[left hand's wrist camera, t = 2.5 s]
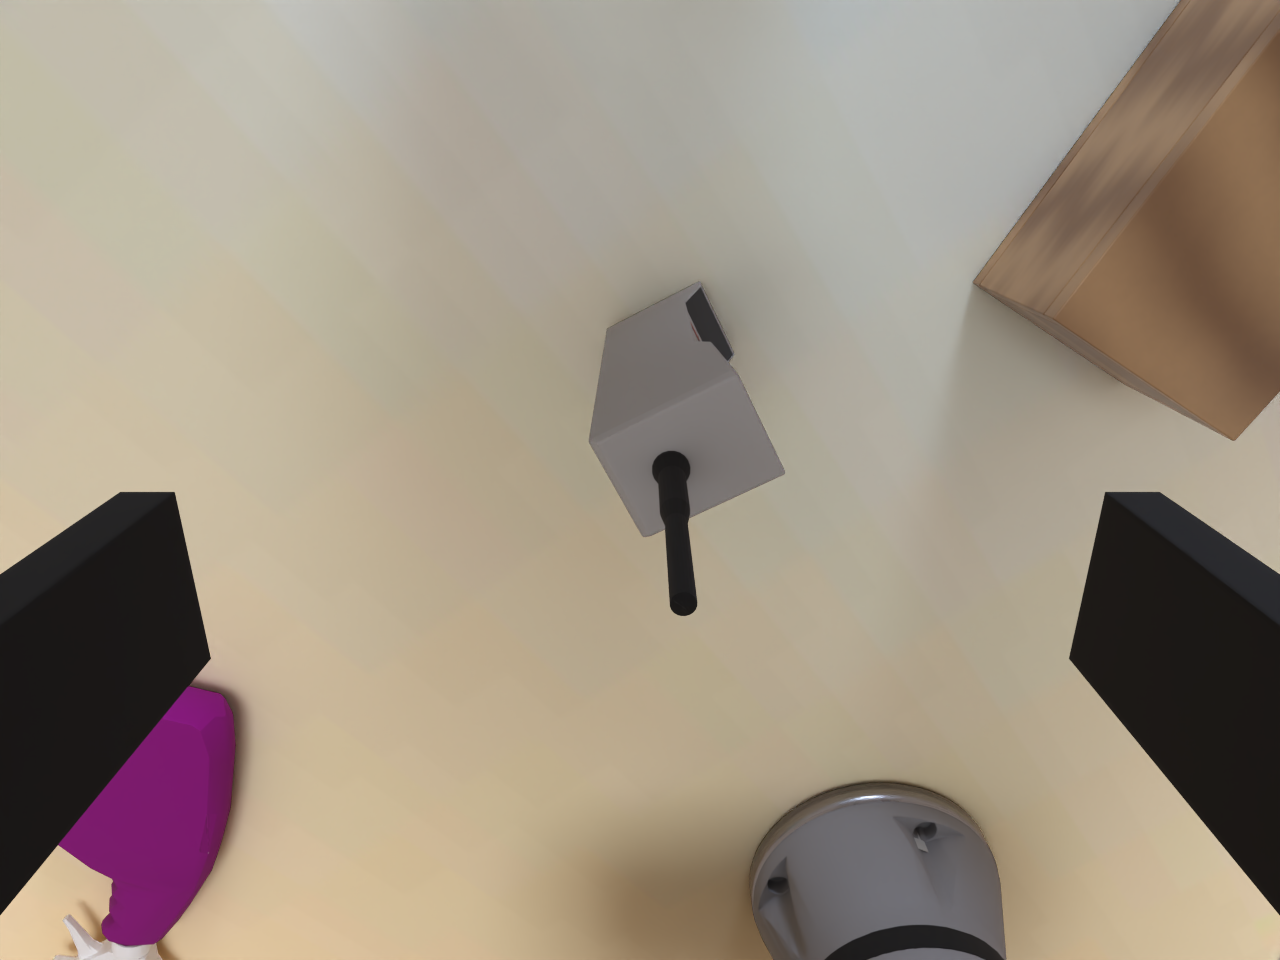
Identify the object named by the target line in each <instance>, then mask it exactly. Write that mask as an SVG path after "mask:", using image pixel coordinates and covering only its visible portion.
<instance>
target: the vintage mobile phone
mask: <svg viewBox="0 0 1280 960" xmlns="http://www.w3.org/2000/svg"><path fill="white" fill-rule="evenodd" d="M733 356H734V352H733V349H732V347H731V345H730V343H729V341H728V339H727V337H726V335H725V333H724V331H723V328H722V326H721V324H720V322H719V320H718V318H717V316H716V314H715V312H714V310H713V308H712V306H711V303H710V301H709V299H708V297H707V295H706V293H705V291H704V289H703V287H702V285H701V283H700V282H697V283H695V284H693V285H691V286H689V287H687V288H685V289H683V290H681V291H679V292H677V293H676V294H674V295H672V296H670V297H668V298H666V299H664V300H662V301H660V302H658V303H656V304H654V305H652V306H650V307H648V308H646V309H644V310H642V311H640V312H638V313H636V314H635V315H633V316H631V317H629V318H627V319H625V320H623V321H621V322H619V323H617V324H615V325H613V326H611V327H609V328H608V329H607V332H606V338H605V345H604V351H603V357H602V363H601V369H600V375H599V381H598V387H597V393H596V399H595V405H594V412H593V418H592V424H591V430H590V436H589V443H590V445H591V447H592V448H593V450H594V452H595V454H596V455H597V457H598V459H599V461H600V463H601V464H602V466H603V468H604V470H605V471H606V473H607V475H608V477H609V478H610V480H611V482H612V484H613V485H614V487H615V489H616V491H617V492H618V494H619V496H620V498H621V500H622V501H623V503H624V505H625V507H626V508H627V510H628V512H629V514H630V515H631V517H632V519H633V521H634V522H635V524H636V526H637V528H638V529H639V531H640V533H641V535H642V536H643V537H647V536H652V535H654V534H656V533H658V532H660V531H662V530H665V535H666V551H667V566H668V582H669V598H670V607H671V610H672V611H673V612H674V613H675V614H677V615H680V616H687V615H690V614H691V613H693V612H694V611H695V610H696V607H697V596H696V588H695V580H694V572H693V563H692V555H691V547H690V539H689V531H688V520H689V518H691V517H693V516H695V515H697V514H699V513H701V512H704V511H706V510H708V509H710V508H712V507H714V506H717V505H719V504H721V503H723V502H725V501H727V500H730V499H732V498H734V497H736V496H738V495H740V494H743V493H745V492H747V491H749V490H751V489H753V488H756V487H758V486H760V485H762V484H764V483H766V482H769V481H771V480H773V479H775V478H777V477H779V476H782V475H784V474H785V470H784V468H783V466H782V464H781V462H780V460H779V458H778V456H777V454H776V452H775V449H774V447H773V445H772V443H771V441H770V439H769V437H768V435H767V433H766V431H765V429H764V427H763V425H762V423H761V420H760V418H759V416H758V414H757V412H756V410H755V408H754V406H753V404H752V402H751V400H750V398H749V396H748V394H747V391H746V389H745V387H744V385H743V383H742V381H741V379H740V377H739V375H738V374H737V372H736V371H735V370H734V369H733V367H732V366H731V365H730V364H729V361H730V360H731V359H732V357H733Z"/></svg>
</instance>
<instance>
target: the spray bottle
mask: <svg viewBox="0 0 1280 960" xmlns="http://www.w3.org/2000/svg"><path fill="white" fill-rule="evenodd" d="M235 746H236V744H235V732H234V719H233V712H232V711H231V709H230V707H229V705H228V703H227V701H226V699H225V698H224V697H223V696H222V695H221V694H220V693H216V692H211V691H207V690H203V689H199V688H194V687H190V686H188V687H187V688H186V689H185V691H184V692H183V693H182V694H181V696H180V697H179V698H178V699H177V700H176V702H175V703H174V704H173V705H172V707H171V708H170V709H169V710H168V711H167V713H166V714H165V715H164V716H163V718H162V719H161V720H160V721H159V722H158V724H157V725H156V726H155V727H154V728H153V730H152V731H151V732H150V733H149V735H148V736H147V737H146V738H145V739H144V741H143V742H142V743H141V744H140V746H139V747H138V748H137V749H136V750H135V752H134V753H133V754H132V755H131V756H130V758H129V759H128V760H127V761H126V763H125V764H124V765H123V766H122V767H121V769H120V770H119V771H118V772H117V774H116V775H115V776H114V777H113V778H112V780H111V781H110V782H109V783H108V785H107V786H106V787H105V788H104V789H103V791H102V792H101V793H100V794H99V795H98V797H97V798H96V799H95V800H94V802H93V803H92V804H91V805H90V806H89V808H88V809H87V810H86V811H85V813H84V814H83V815H82V816H81V817H80V819H79V820H78V821H77V822H76V824H75V825H74V826H73V827H72V828H71V830H70V831H69V832H68V833H67V834H66V836H65V837H64V838H63V839H62V841H61V842H60V843H59V844H58V845H59V846H60V847H62V848H63V849H64V850H66V851H67V852H69V853H70V854H71V855H73V856H74V857H76V858H77V859H78V860H80V861H81V862H83V863H84V864H85V865H87V866H88V867H90V868H91V869H93V870H95V871H97V872H99V873H101V874H103V875H105V876H108V877H110V878H112V880H113V883H112V896H111V897H110V902H109V912H110V913H109V914H108V915H107V916H106V917H105V919H104V920H103V921H102V924H101V926H102V933H103V934H104V936H105V937H106V938H107V939H106V940H104V941H102V942H98V941H96V940H94V939H93V938H92V937H91V936H90V935H89V934H88V933H87V932H86V931H85V930H84V928H83V927H82V926H81V925H80V924H79V923H78V922H77V921H76V920H75V919H74V918H73V917H72V916H71V915H70V914H69V915H66V916H65V918H64V919H63V922H64V923H65V925H66V926H67V928H68V929H69V931H70V934H71V936H72V938H73V941H74V943H75V946H76V948H77V950H78V956H68V955H56V956H55V957H54V958H53V960H163V959H162V958H161V957H160V955H159V954H158V950H157V945H156V942H158V941H159V940H161V939H162V938H163V937H164V936H165V935H166V934H167V932H168V931H169V930H170V929H171V928H172V927H173V926H174V924H175V923H176V922H177V921H178V920H179V918H180V917H181V916H182V914H183V913H184V912H185V910H186V909H187V908H188V906H189V905H190V904H191V902H192V900H193V899H194V897H195V896H196V894H197V893H198V891H199V889H200V888H201V886H202V885H203V883H204V882H205V880H206V878H207V877H208V875H209V874H210V872H211V871H212V868H213V865H214V862H215V859H216V857H217V854H218V851H219V848H220V845H221V841H222V838H223V834H224V831H225V827H226V823H227V819H228V815H229V812H230V807H231V795H232V783H233V771H234V759H235Z"/></svg>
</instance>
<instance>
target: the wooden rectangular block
mask: <svg viewBox="0 0 1280 960" xmlns="http://www.w3.org/2000/svg"><path fill="white" fill-rule="evenodd" d="M973 283H974V284H975V285H977V286H978V287H980V288H981V289H983V290H984V291H986V292H987V293H989V294H990V295H992V296H993V297H995V298H996V299H998V300H999V301H1001V302H1002V303H1004V304H1005V305H1007V306H1008V307H1010V308H1011V309H1013V310H1014V311H1016V312H1017V313H1019V314H1020V315H1022V316H1023V317H1025V318H1026V319H1028V320H1029V321H1031V322H1032V323H1034V324H1035V325H1037V326H1038V327H1040V328H1041V329H1042V330H1044V331H1045V332H1047V333H1048V334H1050V335H1051V336H1053V337H1054V338H1056V339H1057V340H1059V341H1060V342H1062V343H1063V344H1065V345H1066V346H1068V347H1069V348H1071V349H1072V350H1074V351H1075V352H1077V353H1078V354H1080V355H1081V356H1083V357H1084V358H1086V359H1087V360H1089V361H1090V362H1092V363H1093V364H1095V365H1096V366H1098V367H1099V368H1101V369H1102V370H1104V371H1105V372H1107V373H1108V374H1110V375H1111V376H1113V377H1114V378H1116V379H1117V380H1119V381H1120V382H1122V383H1123V384H1125V385H1127V386H1129V387H1131V388H1133V389H1135V390H1137V391H1139V392H1140V393H1142V394H1144V395H1146V396H1148V397H1150V398H1152V399H1154V400H1156V401H1158V402H1160V403H1162V404H1164V405H1165V406H1167V407H1169V408H1171V409H1173V410H1175V411H1177V412H1179V413H1181V414H1183V415H1185V416H1187V417H1188V418H1190V419H1192V420H1194V421H1196V422H1198V423H1200V424H1202V425H1204V426H1206V427H1208V428H1210V429H1211V430H1213V431H1215V432H1217V433H1219V434H1221V435H1223V436H1225V437H1227V438H1229V439H1231V440H1232V441H1235V440H1236V439H1237V438H1238V437H1239V435H1240V434H1241V433H1242V432H1243V431H1244V430H1245V429H1246V428H1247V427H1248V426H1249V424H1250V423H1251V422H1252V421H1253V420H1254V419H1255V418H1256V417H1257V416H1258V415H1259V414H1260V412H1261V411H1262V410H1263V409H1264V408H1265V407H1266V406H1267V405H1268V404H1269V403H1270V401H1271V400H1272V399H1273V398H1274V397H1275V396H1276V395H1277V394H1278V393H1279V392H1280V0H1181V1H1180V2H1179V4H1178V5H1177V6H1176V8H1175V9H1174V10H1173V12H1172V13H1171V14H1170V16H1169V17H1168V18H1167V20H1166V21H1165V23H1164V24H1163V25H1162V27H1161V28H1160V29H1159V31H1158V32H1157V33H1156V35H1155V36H1154V37H1153V39H1152V40H1151V41H1150V43H1149V44H1148V46H1147V47H1146V48H1145V50H1144V51H1143V52H1142V54H1141V55H1140V56H1139V58H1138V59H1137V60H1136V62H1135V63H1134V65H1133V66H1132V67H1131V69H1130V70H1129V71H1128V73H1127V74H1126V75H1125V77H1124V78H1123V79H1122V81H1121V82H1120V84H1119V85H1118V86H1117V88H1116V89H1115V90H1114V92H1113V93H1112V94H1111V96H1110V97H1109V98H1108V100H1107V101H1106V103H1105V104H1104V105H1103V107H1102V108H1101V109H1100V111H1099V112H1098V113H1097V115H1096V116H1095V117H1094V119H1093V120H1092V121H1091V123H1090V124H1089V126H1088V127H1087V128H1086V130H1085V131H1084V132H1083V134H1082V135H1081V136H1080V138H1079V139H1078V140H1077V142H1076V143H1075V145H1074V146H1073V147H1072V149H1071V150H1070V151H1069V153H1068V154H1067V155H1066V157H1065V158H1064V159H1063V161H1062V162H1061V164H1060V165H1059V166H1058V168H1057V169H1056V170H1055V172H1054V173H1053V174H1052V176H1051V177H1050V178H1049V180H1048V181H1047V182H1046V184H1045V185H1044V187H1043V188H1042V189H1041V191H1040V192H1039V193H1038V195H1037V196H1036V197H1035V199H1034V200H1033V201H1032V203H1031V204H1030V206H1029V207H1028V208H1027V210H1026V211H1025V212H1024V214H1023V215H1022V216H1021V218H1020V219H1019V220H1018V222H1017V223H1016V225H1015V226H1014V227H1013V229H1012V230H1011V231H1010V233H1009V234H1008V235H1007V237H1006V238H1005V239H1004V241H1003V242H1002V243H1001V245H1000V246H999V248H998V249H997V250H996V252H995V253H994V254H993V256H992V257H991V258H990V260H989V261H988V262H987V264H986V265H985V267H984V268H983V269H982V271H981V272H980V273H979V275H978V276H977V277H976V279H975V280H974V281H973Z"/></svg>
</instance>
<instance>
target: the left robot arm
mask: <svg viewBox="0 0 1280 960" xmlns="http://www.w3.org/2000/svg"><path fill="white" fill-rule="evenodd" d="M210 659H211V657H210V652H209V648H208V643H207V638H206V634H205V629H204V625H203V620H202V616H201V611H200V606H199V602H198V597H197V593H196V588H195V583H194V579H193V574H192V570H191V565H190V560H189V556H188V551H187V547H186V542H185V537H184V533H183V528H182V524H181V519H180V514H179V510H178V505H177V501H176V496H175V492H120V493H118V494H117V495H115V496H114V497H113V498H111V499H110V500H108V501H107V502H105V503H104V504H102V505H101V506H99V507H98V508H96V509H95V510H94V511H92V512H91V513H89V514H88V515H86V516H85V517H83V518H82V519H80V520H79V521H78V522H76V523H75V524H73V525H72V526H70V527H69V528H67V529H66V530H64V531H63V532H61V533H60V534H59V535H57V536H56V537H54V538H53V539H51V540H50V541H48V542H47V543H45V544H44V545H43V546H41V547H40V548H38V549H37V550H35V551H34V552H32V553H31V554H29V555H28V556H26V557H25V558H24V559H22V560H21V561H19V562H18V563H16V564H15V565H13V566H12V567H10V568H9V569H8V570H6V571H5V572H3V573H2V574H0V915H1V914H2V912H3V911H4V910H5V909H6V908H7V906H8V905H9V904H10V903H11V901H12V900H13V899H14V898H15V897H16V895H17V894H18V893H19V892H20V891H21V889H22V888H23V887H24V886H25V884H26V883H27V882H28V881H29V880H30V878H31V877H32V876H33V875H34V873H35V872H36V871H37V870H38V869H39V867H40V866H41V865H42V864H43V863H44V861H45V860H46V859H47V858H48V856H49V855H50V854H51V853H52V852H53V850H54V849H55V848H56V847H57V845H58V844H59V843H60V842H61V841H62V839H63V838H64V837H65V836H66V834H67V833H68V832H69V831H70V830H71V828H72V827H73V826H74V825H75V824H76V822H77V821H78V820H79V819H80V817H81V816H82V815H83V814H84V813H85V811H86V810H87V809H88V808H89V806H90V805H91V804H92V803H93V802H94V800H95V799H96V798H97V797H98V795H99V794H100V793H101V792H102V791H103V789H104V788H105V787H106V786H107V785H108V783H109V782H110V781H111V780H112V778H113V777H114V776H115V775H116V774H117V772H118V771H119V770H120V769H121V767H122V766H123V765H124V764H125V763H126V761H127V760H128V759H129V758H130V756H131V755H132V754H133V753H134V752H135V750H136V749H137V748H138V747H139V746H140V744H141V743H142V742H143V741H144V739H145V738H146V737H147V736H148V735H149V733H150V732H151V731H152V730H153V728H154V727H155V726H156V725H157V724H158V722H159V721H160V720H161V719H162V718H163V716H164V715H165V714H166V713H167V711H168V710H169V709H170V708H171V707H172V705H173V704H174V703H175V702H176V700H177V699H178V698H179V697H180V696H181V694H182V693H183V692H184V691H185V689H186V688H187V687H188V686H189V685H190V683H191V682H192V681H193V680H194V679H195V677H196V676H197V675H198V674H199V672H200V671H201V670H202V669H203V668H204V666H205V665H206V664H207V663H208V661H209V660H210ZM1069 659H1070V660H1071V661H1072V663H1073V664H1074V665H1075V666H1076V668H1077V669H1078V670H1079V671H1080V672H1081V674H1082V675H1083V676H1084V677H1085V679H1086V680H1087V681H1088V682H1089V683H1090V685H1091V686H1092V687H1093V688H1094V689H1095V691H1096V692H1097V693H1098V694H1099V696H1100V697H1101V698H1102V699H1103V700H1104V702H1105V703H1106V704H1107V705H1108V707H1109V708H1110V709H1111V710H1112V711H1113V713H1114V714H1115V715H1116V716H1117V718H1118V719H1119V720H1120V721H1121V722H1122V724H1123V725H1124V726H1125V727H1126V728H1127V730H1128V731H1129V732H1130V733H1131V735H1132V736H1133V737H1134V738H1135V739H1136V741H1137V742H1138V743H1139V744H1140V746H1141V747H1142V748H1143V749H1144V750H1145V752H1146V753H1147V754H1148V755H1149V757H1150V758H1151V759H1152V760H1153V761H1154V763H1155V764H1156V765H1157V766H1158V767H1159V769H1160V770H1161V771H1162V772H1163V774H1164V775H1165V776H1166V777H1167V778H1168V780H1169V781H1170V782H1171V783H1172V785H1173V786H1174V787H1175V788H1176V789H1177V791H1178V792H1179V793H1180V794H1181V795H1182V797H1183V798H1184V799H1185V800H1186V802H1187V803H1188V804H1189V805H1190V806H1191V808H1192V809H1193V810H1194V811H1195V813H1196V814H1197V815H1198V816H1199V817H1200V819H1201V820H1202V821H1203V822H1204V824H1205V825H1206V826H1207V827H1208V828H1209V830H1210V831H1211V832H1212V833H1213V834H1214V836H1215V837H1216V838H1217V839H1218V841H1219V842H1220V843H1221V844H1222V845H1223V847H1224V848H1225V849H1226V850H1227V852H1228V853H1229V854H1230V855H1231V856H1232V858H1233V859H1234V860H1235V861H1236V863H1237V864H1238V865H1239V866H1240V867H1241V869H1242V870H1243V871H1244V872H1245V873H1246V875H1247V876H1248V877H1249V878H1250V880H1251V881H1252V882H1253V883H1254V884H1255V886H1256V887H1257V888H1258V889H1259V891H1260V892H1261V893H1262V894H1263V895H1264V897H1265V898H1266V899H1267V900H1268V901H1269V903H1270V904H1271V905H1272V906H1273V908H1274V909H1275V910H1276V911H1277V912H1278V914H1279V915H1280V574H1278V573H1277V572H1275V571H1274V570H1272V569H1271V568H1270V567H1268V566H1267V565H1265V564H1264V563H1262V562H1261V561H1259V560H1258V559H1256V558H1255V557H1254V556H1252V555H1251V554H1249V553H1248V552H1246V551H1245V550H1243V549H1242V548H1240V547H1239V546H1237V545H1236V544H1235V543H1233V542H1232V541H1230V540H1229V539H1227V538H1226V537H1224V536H1223V535H1221V534H1220V533H1219V532H1217V531H1216V530H1214V529H1213V528H1211V527H1210V526H1208V525H1207V524H1205V523H1204V522H1202V521H1201V520H1200V519H1198V518H1197V517H1195V516H1194V515H1192V514H1191V513H1189V512H1188V511H1186V510H1185V509H1184V508H1182V507H1181V506H1179V505H1178V504H1176V503H1175V502H1173V501H1172V500H1170V499H1169V498H1167V497H1166V496H1165V495H1163V494H1162V493H1160V492H1105V496H1104V501H1103V505H1102V510H1101V514H1100V519H1099V524H1098V528H1097V533H1096V537H1095V542H1094V547H1093V551H1092V556H1091V560H1090V565H1089V570H1088V574H1087V579H1086V583H1085V588H1084V593H1083V597H1082V602H1081V606H1080V611H1079V616H1078V620H1077V625H1076V629H1075V634H1074V638H1073V643H1072V648H1071V652H1070V657H1069ZM749 886H750V895H751V902H752V909H753V914H754V918H755V922H756V925H757V927H758V930H759V932H760V935H761V937H762V939H763V941H764V943H765V945H766V947H767V949H768V950H769V952H770V954H771V956H772V958H773V960H1006V948H1005V936H1004V923H1003V910H1002V898H1001V885H1000V879H999V875H998V870H997V866H996V862H995V859H994V857H993V854H992V852H991V850H990V848H989V846H988V844H987V842H986V840H985V838H984V836H983V834H982V832H981V830H980V828H979V827H978V826H977V824H976V823H975V821H974V820H973V819H972V818H971V817H970V816H969V815H968V814H967V813H966V812H965V811H964V810H963V809H961V808H960V807H959V806H958V805H956V804H955V803H953V802H952V801H950V800H948V799H946V798H945V797H943V796H941V795H938V794H936V793H934V792H931V791H928V790H925V789H922V788H918V787H913V786H909V785H902V784H892V783H870V784H860V785H854V786H849V787H844V788H840V789H837V790H833V791H830V792H827V793H824V794H822V795H820V796H817V797H815V798H813V799H811V800H809V801H807V802H805V803H803V804H801V805H800V806H798V807H797V808H795V809H794V810H792V811H791V812H789V813H788V814H787V815H786V816H784V817H783V818H782V819H781V820H780V821H779V822H778V823H777V824H775V826H774V827H773V828H772V829H771V830H770V831H769V832H768V834H767V835H766V836H765V838H764V839H763V841H762V842H761V844H760V846H759V847H758V849H757V851H756V854H755V856H754V859H753V862H752V866H751V871H750V881H749Z"/></svg>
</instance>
